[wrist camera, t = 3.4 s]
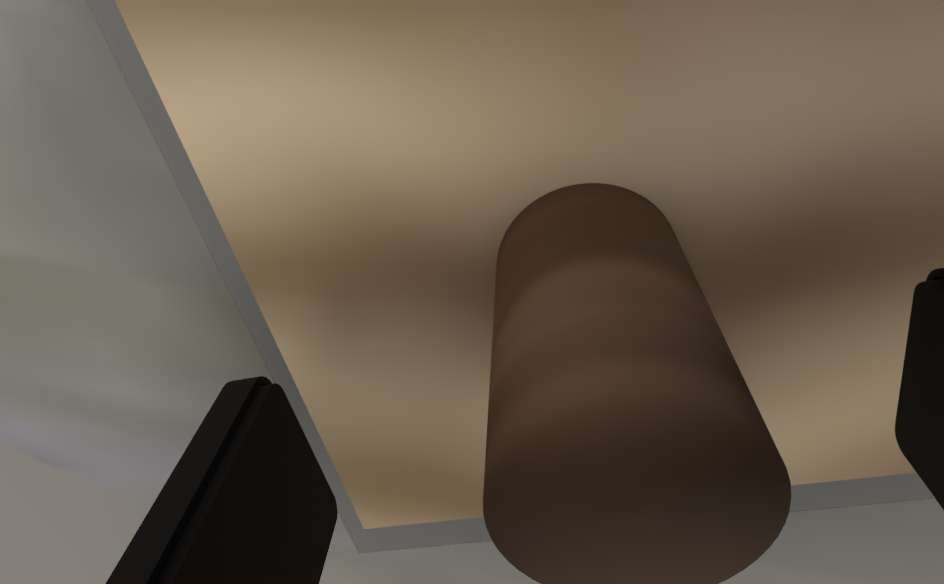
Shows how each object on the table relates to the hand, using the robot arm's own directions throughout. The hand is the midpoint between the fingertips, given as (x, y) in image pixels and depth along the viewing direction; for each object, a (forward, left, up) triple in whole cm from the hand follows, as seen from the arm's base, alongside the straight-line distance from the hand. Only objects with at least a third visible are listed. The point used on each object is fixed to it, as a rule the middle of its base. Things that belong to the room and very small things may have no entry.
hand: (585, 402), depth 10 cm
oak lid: (0, 0, -5) cm, 5 cm away
